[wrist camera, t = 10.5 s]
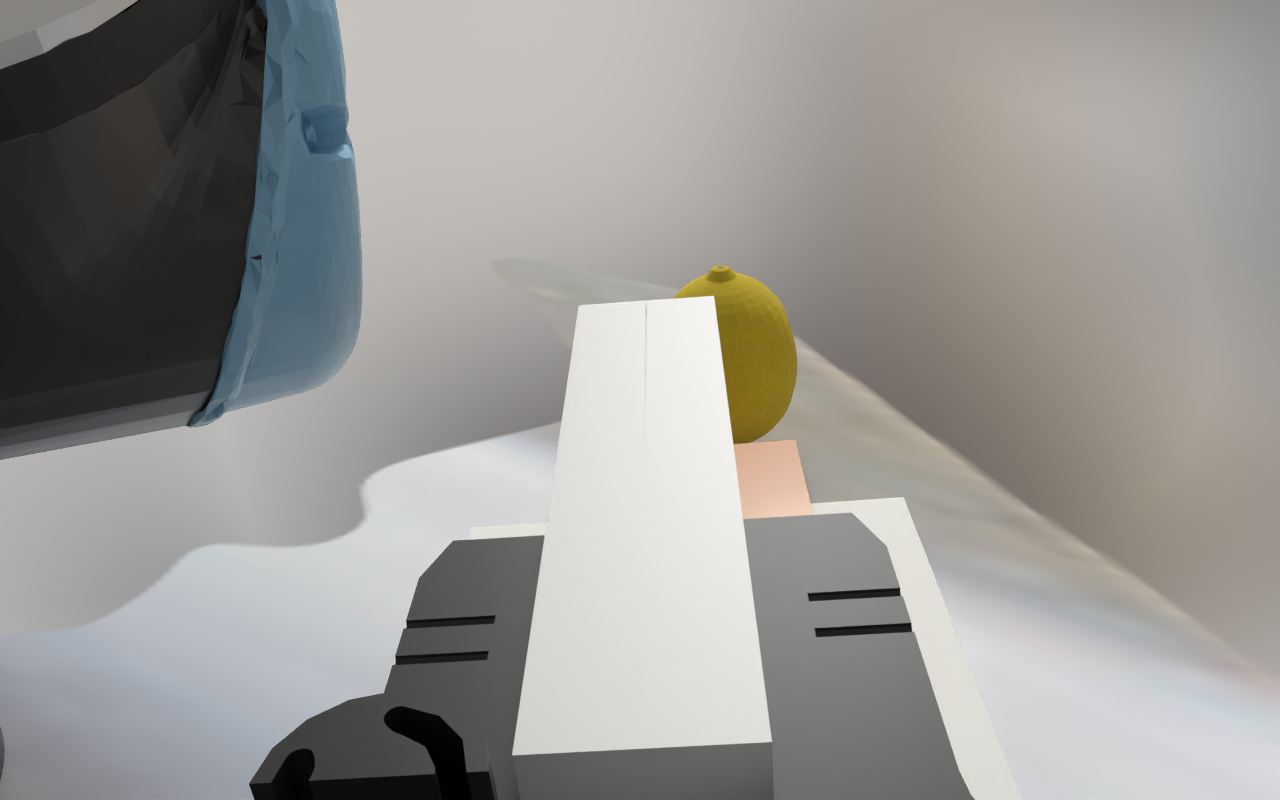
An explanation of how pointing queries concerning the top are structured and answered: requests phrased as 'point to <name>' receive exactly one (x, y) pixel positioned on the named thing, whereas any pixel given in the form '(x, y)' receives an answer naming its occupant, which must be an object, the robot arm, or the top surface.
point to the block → (771, 480)
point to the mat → (934, 635)
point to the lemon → (750, 350)
